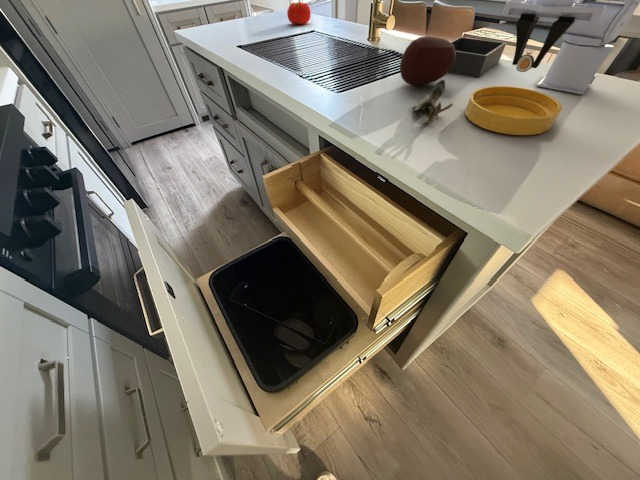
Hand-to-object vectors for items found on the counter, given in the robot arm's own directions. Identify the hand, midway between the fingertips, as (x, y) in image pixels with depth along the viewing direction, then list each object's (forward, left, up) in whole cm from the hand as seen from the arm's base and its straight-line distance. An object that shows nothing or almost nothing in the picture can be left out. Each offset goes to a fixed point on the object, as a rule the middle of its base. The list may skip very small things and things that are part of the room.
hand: (524, 65), depth 53 cm
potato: (+21, -2, -9) cm, 23 cm away
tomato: (+105, -41, -9) cm, 113 cm away
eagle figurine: (+11, +14, -9) cm, 20 cm away
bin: (+18, -23, -8) cm, 31 cm away
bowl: (-2, +5, -8) cm, 10 cm away
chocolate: (0, 0, -1) cm, 1 cm away
